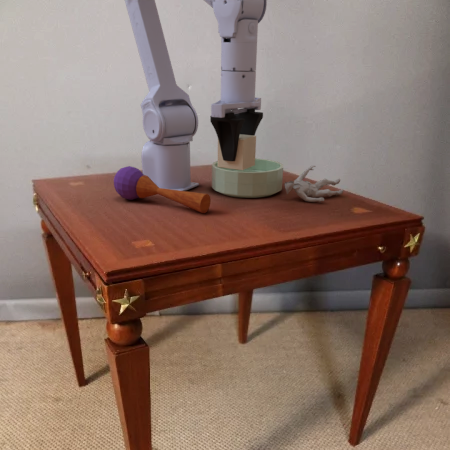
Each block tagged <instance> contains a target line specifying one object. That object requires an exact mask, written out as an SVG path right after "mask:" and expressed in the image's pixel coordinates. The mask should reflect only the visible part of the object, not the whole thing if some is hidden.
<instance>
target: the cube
mask: <svg viewBox="0 0 450 450" xmlns="http://www.w3.org/2000/svg"><path fill="white" fill-rule="evenodd" d="M256 151H257V135H255V136H253V135H243V134H240V135H239V140H238V148H237V155H236V159H235V161H225V160H223V157H222V153H221V148H220V144H219V140H218V139H217V161H218V167H221V168H229V169H236V170H244V169H247V168H249V167H252V166H254V165H255V158H256Z"/></svg>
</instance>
